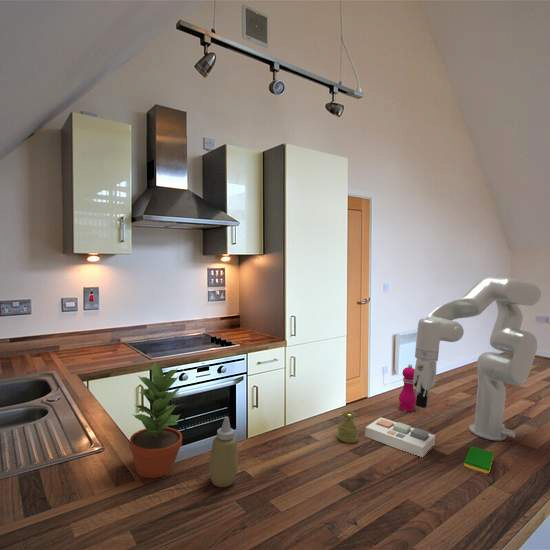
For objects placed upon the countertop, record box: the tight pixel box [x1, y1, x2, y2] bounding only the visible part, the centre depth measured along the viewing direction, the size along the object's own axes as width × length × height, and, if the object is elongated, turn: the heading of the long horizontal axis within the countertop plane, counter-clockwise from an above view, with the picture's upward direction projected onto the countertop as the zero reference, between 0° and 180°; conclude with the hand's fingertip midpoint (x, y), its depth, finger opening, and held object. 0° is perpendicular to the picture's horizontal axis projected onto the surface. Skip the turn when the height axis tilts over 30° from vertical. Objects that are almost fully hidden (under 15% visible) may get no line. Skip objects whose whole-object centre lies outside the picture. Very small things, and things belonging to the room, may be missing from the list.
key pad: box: [364, 417, 436, 458], centre depth 141 cm, size 21×13×4 cm, turn 51°
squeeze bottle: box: [208, 416, 239, 488], centre depth 108 cm, size 8×8×18 cm
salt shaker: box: [336, 409, 360, 444], centre depth 140 cm, size 7×7×10 cm
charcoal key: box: [411, 427, 430, 441], centre depth 138 cm, size 5×5×3 cm
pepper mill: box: [398, 363, 417, 412], centre depth 173 cm, size 7×7×20 cm
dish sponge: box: [463, 445, 495, 474], centre depth 129 cm, size 7×14×2 cm, turn 146°
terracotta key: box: [377, 419, 394, 429], centre depth 146 cm, size 5×5×3 cm
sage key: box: [393, 422, 411, 435], centre depth 142 cm, size 5×5×3 cm
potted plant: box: [128, 360, 183, 479], centre depth 112 cm, size 15×15×30 cm
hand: (421, 406), depth 138 cm, fingers closed
